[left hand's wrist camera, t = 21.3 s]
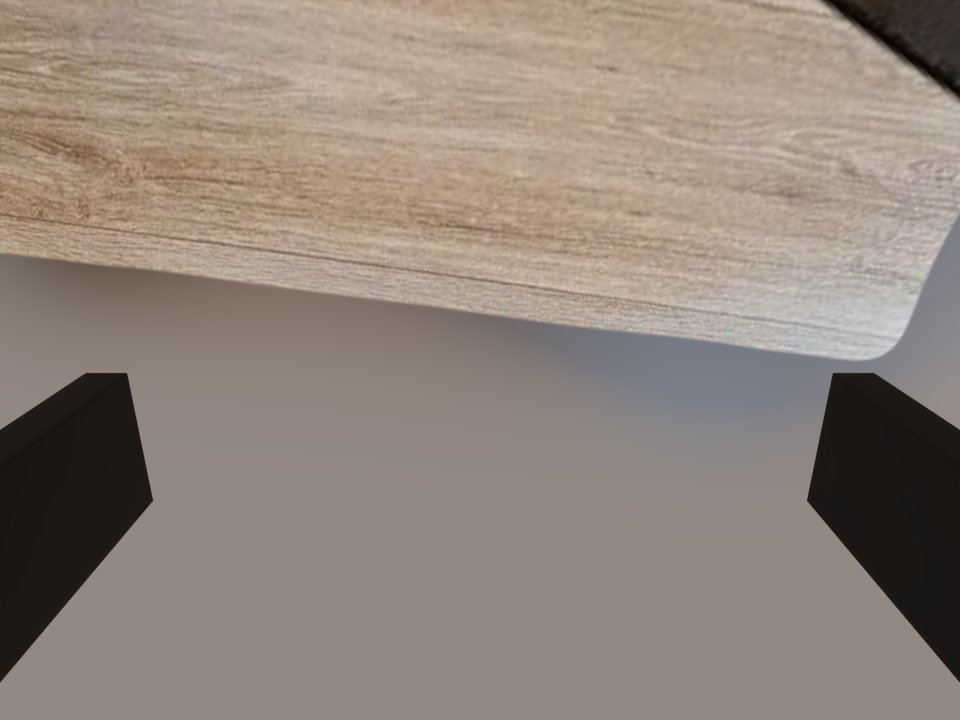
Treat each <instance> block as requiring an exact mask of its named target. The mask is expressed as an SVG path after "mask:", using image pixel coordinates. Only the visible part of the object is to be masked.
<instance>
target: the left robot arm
mask: <svg viewBox="0 0 960 720" xmlns="http://www.w3.org/2000/svg"><path fill="white" fill-rule="evenodd" d="M152 501H153V498H152V493H151V489H150V484H149V479H148V474H147V469H146V464H145V459H144V454H143V449H142V444H141V439H140V434H139V429H138V425H137V420H136V415H135V410H134V405H133V400H132V395H131V390H130V385H129V380H128V375H127V373H85V374H84V375H82V376H81V377H79V378H78V379H76V380H75V381H73V382H72V383H70V384H69V385H67V386H66V387H64V388H63V389H61V390H60V391H58V392H57V393H55V394H54V395H52V396H51V397H49V398H48V399H46V400H45V401H43V402H42V403H40V404H39V405H37V406H36V407H34V408H33V409H31V410H29V411H28V412H27V413H25V414H23V415H22V416H20V417H19V418H17V419H16V420H15V421H13V422H11V423H10V424H8V425H7V426H5V427H4V428H2V429H1V430H0V682H1V681H2V680H3V678H4V677H5V676H6V675H7V674H8V673H9V671H10V670H11V669H12V668H13V667H14V665H15V664H16V663H17V662H18V661H19V659H20V658H21V657H22V656H23V655H24V653H25V652H26V651H27V650H28V649H29V648H30V646H31V645H32V644H33V643H34V642H35V640H36V639H37V638H38V637H39V636H40V634H41V633H42V632H43V631H44V630H45V629H46V627H47V626H48V625H49V624H50V623H51V621H52V620H53V619H54V618H55V617H56V615H57V614H58V613H59V612H60V611H61V610H62V608H63V607H64V606H65V605H66V604H67V602H68V601H69V600H70V599H71V598H72V596H73V595H74V594H75V593H76V592H77V591H78V589H79V588H80V587H81V586H82V585H83V583H84V582H85V581H86V580H87V578H88V577H89V576H90V575H91V574H92V573H93V571H94V570H95V569H96V568H97V567H98V566H99V564H100V563H101V562H102V561H103V560H104V558H105V557H106V556H107V555H108V554H109V552H110V551H111V550H112V549H113V548H114V546H115V545H116V544H117V543H118V542H119V541H120V539H121V538H122V537H123V536H124V535H125V533H126V532H127V531H128V530H129V529H130V527H131V526H132V525H133V524H134V523H135V522H136V520H137V519H138V518H139V517H140V516H141V514H142V513H143V512H144V511H145V510H146V508H147V507H148V506H149V505H150V504H151V503H152ZM807 501H808V502H809V504H810V505H811V506H812V507H813V508H814V510H815V511H816V512H817V513H818V514H819V516H820V517H821V518H822V519H823V520H824V522H825V523H826V524H827V525H828V526H829V527H830V529H831V530H832V531H833V532H834V533H835V535H836V536H837V537H838V538H839V539H840V541H841V542H842V543H843V544H844V545H845V547H846V548H847V549H848V550H849V551H850V552H851V554H852V555H853V556H854V557H855V558H856V560H857V561H858V562H859V563H860V564H861V565H862V567H863V568H864V569H865V570H866V571H867V573H868V574H869V575H870V576H871V577H872V579H873V580H874V581H875V582H876V583H877V585H878V586H879V587H880V588H881V589H882V590H883V592H884V593H885V594H886V595H887V596H888V598H889V599H890V600H891V601H892V602H893V603H894V605H895V606H896V607H897V608H898V609H899V611H900V612H901V613H902V614H903V615H904V617H905V618H906V619H907V620H908V621H909V623H910V624H911V625H912V626H913V627H914V629H915V630H916V631H917V632H918V633H919V634H920V636H921V637H922V638H923V639H924V640H925V642H926V643H927V644H928V645H929V646H930V648H931V649H932V650H933V651H934V652H935V653H936V655H937V656H938V657H939V658H940V659H941V661H942V662H943V663H944V664H945V665H946V667H947V668H948V669H949V670H950V671H951V673H952V674H953V675H954V676H955V677H956V678H957V680H958V681H959V682H960V430H959V429H958V428H956V427H955V426H953V425H952V424H950V423H949V422H947V421H946V420H944V419H943V418H941V417H939V416H938V415H937V414H935V413H934V412H932V411H931V410H929V409H927V408H926V407H924V406H923V405H921V404H920V403H918V402H917V401H915V400H914V399H912V398H911V397H909V396H908V395H906V394H905V393H903V392H902V391H900V390H899V389H897V388H896V387H894V386H893V385H891V384H890V383H888V382H887V381H885V380H884V379H882V378H881V377H879V376H878V375H876V374H875V373H833V375H832V380H831V385H830V390H829V395H828V400H827V405H826V410H825V415H824V420H823V425H822V430H821V435H820V439H819V444H818V449H817V454H816V459H815V464H814V469H813V474H812V479H811V484H810V488H809V493H808V498H807Z"/></svg>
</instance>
